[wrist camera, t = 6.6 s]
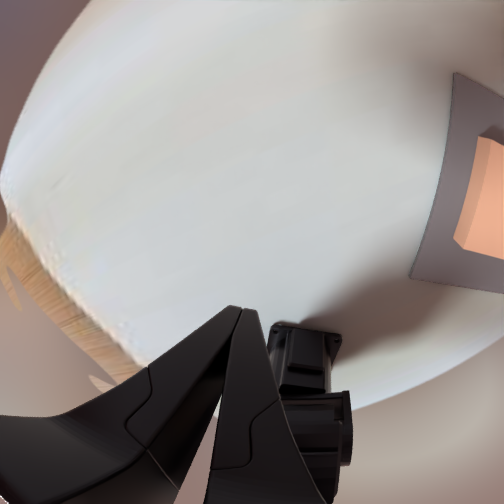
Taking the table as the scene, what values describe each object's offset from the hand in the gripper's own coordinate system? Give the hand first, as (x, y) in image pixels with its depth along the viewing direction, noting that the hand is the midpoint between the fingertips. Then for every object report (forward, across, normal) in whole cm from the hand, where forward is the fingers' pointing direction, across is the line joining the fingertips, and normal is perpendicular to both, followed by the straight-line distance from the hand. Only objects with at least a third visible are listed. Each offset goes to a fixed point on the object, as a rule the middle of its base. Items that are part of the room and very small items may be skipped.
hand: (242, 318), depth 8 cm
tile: (+11, -14, -4) cm, 18 cm away
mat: (+12, -17, -4) cm, 21 cm away
